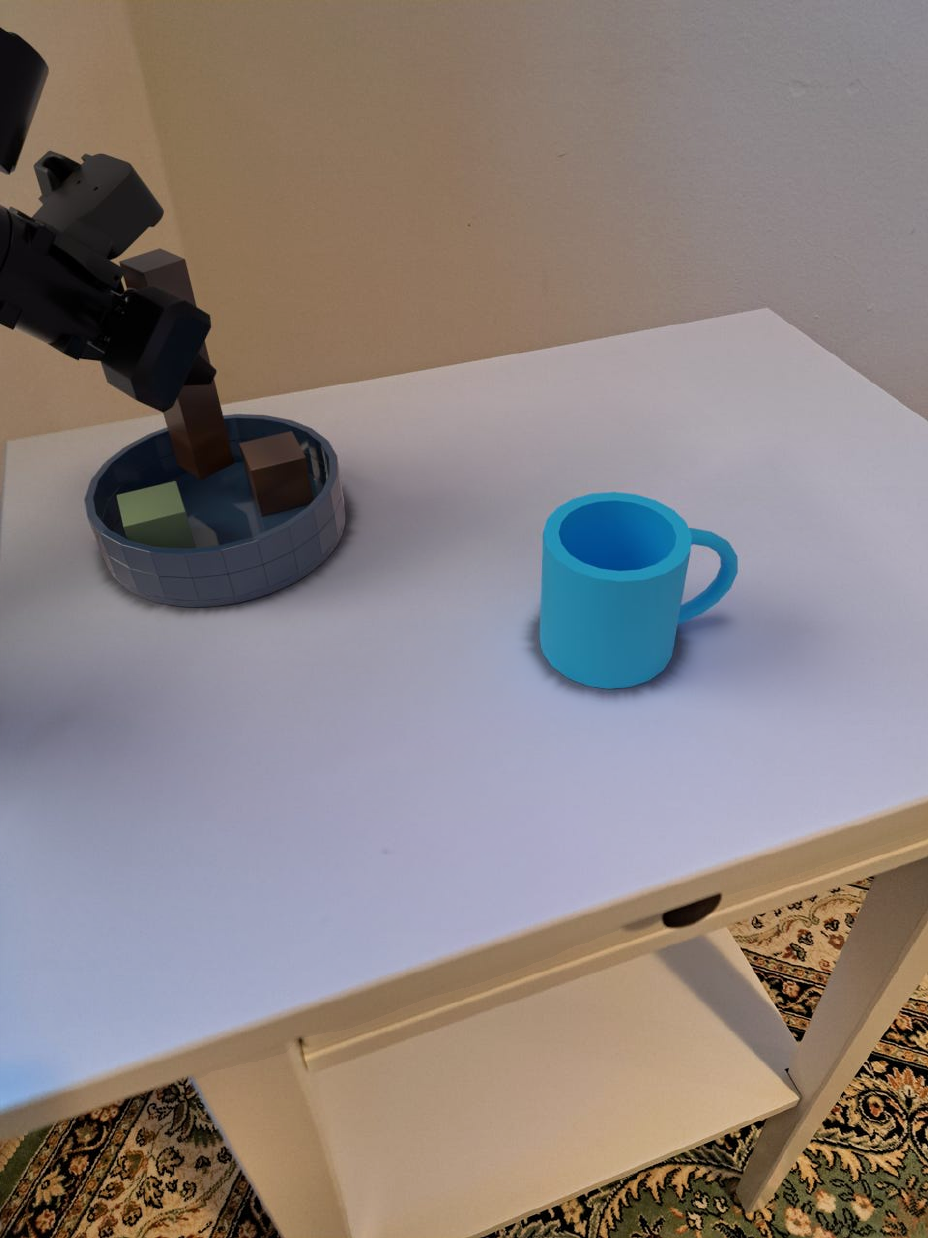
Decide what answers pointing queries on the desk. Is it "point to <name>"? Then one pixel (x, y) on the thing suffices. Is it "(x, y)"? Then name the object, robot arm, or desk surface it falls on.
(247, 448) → the walnut cube
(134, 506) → the sage cube
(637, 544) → the mug
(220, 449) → the stick
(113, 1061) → the desk surface
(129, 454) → the bowl
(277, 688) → the desk surface
